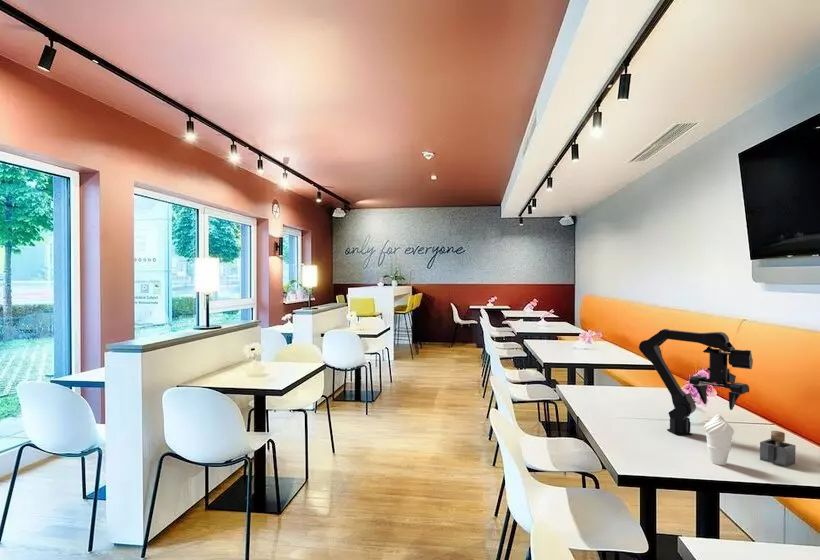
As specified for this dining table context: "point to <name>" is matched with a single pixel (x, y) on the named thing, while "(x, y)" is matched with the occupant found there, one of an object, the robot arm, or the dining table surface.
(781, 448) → the box
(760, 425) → the dining table surface
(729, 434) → the soft serve ice cream cone
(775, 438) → the plunger
